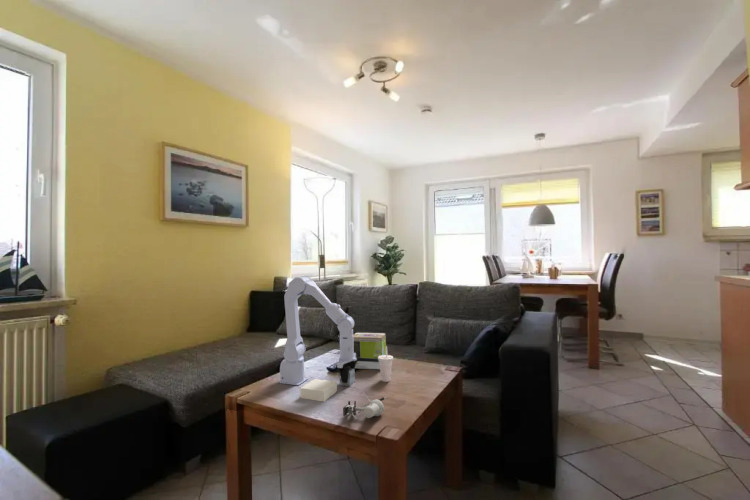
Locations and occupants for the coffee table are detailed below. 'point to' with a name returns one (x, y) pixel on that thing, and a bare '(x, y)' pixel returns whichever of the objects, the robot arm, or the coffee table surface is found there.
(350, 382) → the block
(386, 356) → the smoothie
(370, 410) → the clip-on lamp
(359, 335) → the tea box
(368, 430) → the coffee table surface
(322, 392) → the base box
